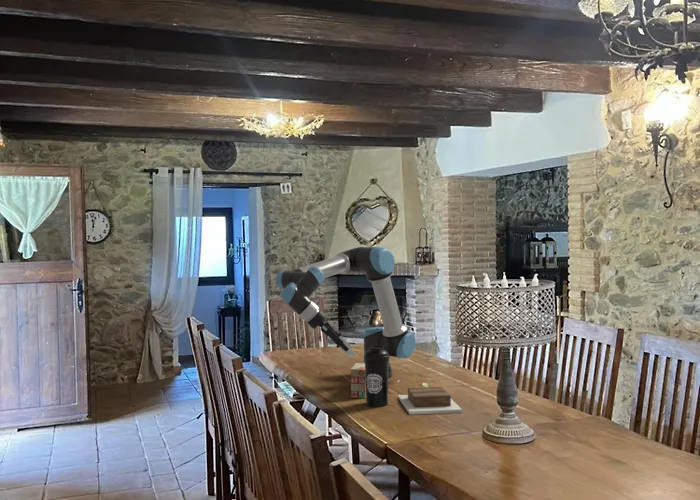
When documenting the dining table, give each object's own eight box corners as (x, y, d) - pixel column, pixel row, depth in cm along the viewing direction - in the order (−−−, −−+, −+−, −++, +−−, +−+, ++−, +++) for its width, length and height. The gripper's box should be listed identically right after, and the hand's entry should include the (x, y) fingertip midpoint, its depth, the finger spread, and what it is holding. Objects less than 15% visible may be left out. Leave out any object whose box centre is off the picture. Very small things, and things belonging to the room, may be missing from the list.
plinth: (407, 398, 256) (407, 388, 256) (441, 396, 258) (441, 387, 258) (414, 407, 242) (414, 397, 242) (450, 406, 244) (450, 395, 244)
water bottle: (360, 406, 249) (360, 348, 248) (369, 399, 259) (368, 343, 258) (385, 408, 246) (385, 349, 245) (392, 402, 255) (392, 345, 255)
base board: (398, 398, 261) (398, 395, 261) (445, 396, 263) (445, 393, 263) (409, 414, 237) (409, 411, 237) (461, 412, 239) (461, 409, 239)
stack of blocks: (360, 385, 283) (360, 358, 283) (374, 386, 282) (374, 358, 282) (350, 398, 262) (350, 368, 262) (365, 398, 261) (365, 369, 261)
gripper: (305, 318, 261) (342, 353, 263) (307, 327, 236) (348, 366, 238) (318, 305, 261) (354, 340, 263) (321, 312, 236) (361, 351, 238)
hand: (351, 352), depth 250 cm, fingers open, 13 cm apart
